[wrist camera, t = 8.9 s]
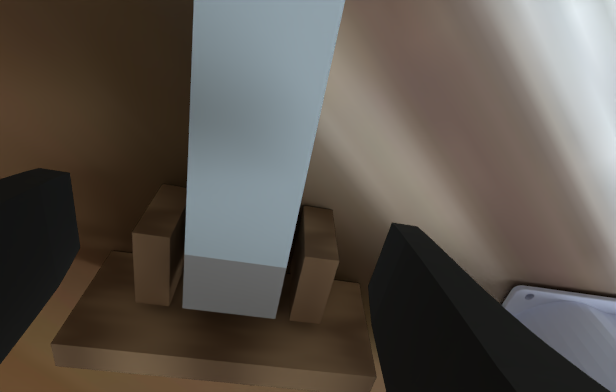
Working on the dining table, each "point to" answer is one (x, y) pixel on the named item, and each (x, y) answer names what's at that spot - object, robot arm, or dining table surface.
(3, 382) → the dining table surface
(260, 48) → the rail
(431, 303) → the robot arm
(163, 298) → the plank with two pegs
